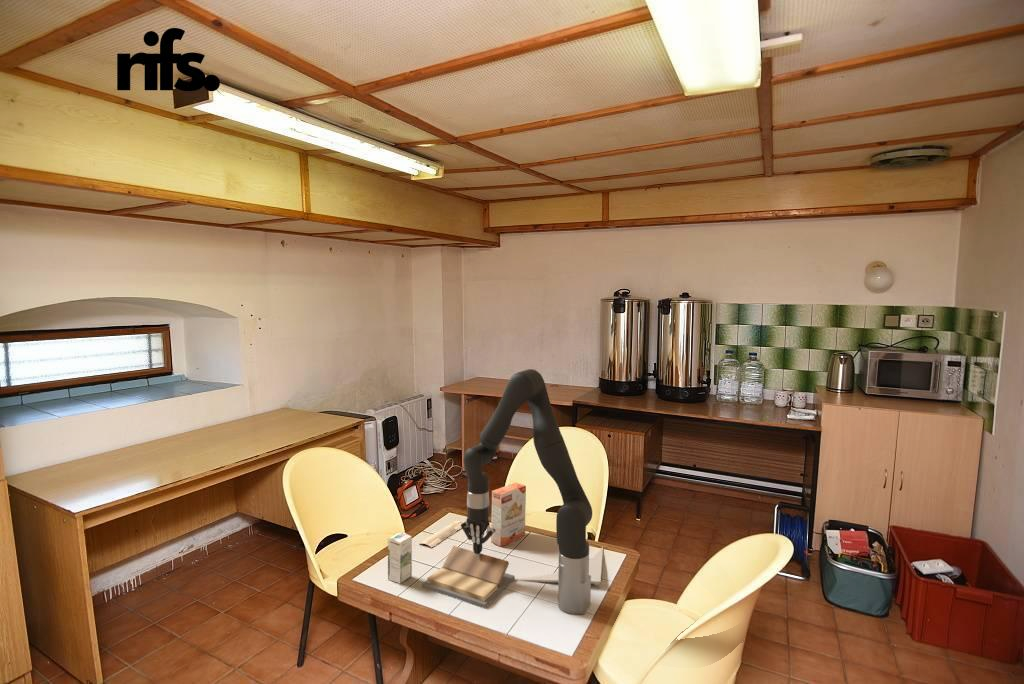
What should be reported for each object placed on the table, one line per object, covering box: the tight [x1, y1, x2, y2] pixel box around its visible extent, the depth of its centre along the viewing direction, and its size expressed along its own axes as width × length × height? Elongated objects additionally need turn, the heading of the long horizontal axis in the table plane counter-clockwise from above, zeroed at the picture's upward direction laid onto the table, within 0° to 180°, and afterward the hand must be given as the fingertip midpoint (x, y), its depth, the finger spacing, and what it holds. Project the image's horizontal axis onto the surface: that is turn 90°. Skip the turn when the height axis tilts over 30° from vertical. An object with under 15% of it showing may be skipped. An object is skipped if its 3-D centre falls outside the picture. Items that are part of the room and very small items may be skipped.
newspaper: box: [418, 520, 465, 549], centre depth 206 cm, size 24×7×2 cm, turn 150°
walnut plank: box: [441, 545, 510, 586], centre depth 174 cm, size 22×8×2 cm
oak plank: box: [426, 566, 497, 601], centre depth 167 cm, size 22×8×2 cm, turn 61°
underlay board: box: [422, 572, 516, 609], centre depth 171 cm, size 24×19×1 cm
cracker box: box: [490, 482, 527, 548], centre depth 202 cm, size 14×6×21 cm, turn 136°
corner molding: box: [513, 546, 604, 586], centre depth 185 cm, size 30×2×30 cm
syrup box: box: [387, 532, 413, 585], centre depth 173 cm, size 6×6×14 cm
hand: (477, 552), depth 175 cm, fingers closed
